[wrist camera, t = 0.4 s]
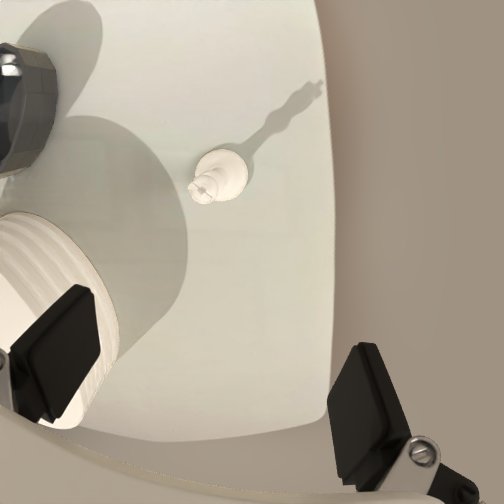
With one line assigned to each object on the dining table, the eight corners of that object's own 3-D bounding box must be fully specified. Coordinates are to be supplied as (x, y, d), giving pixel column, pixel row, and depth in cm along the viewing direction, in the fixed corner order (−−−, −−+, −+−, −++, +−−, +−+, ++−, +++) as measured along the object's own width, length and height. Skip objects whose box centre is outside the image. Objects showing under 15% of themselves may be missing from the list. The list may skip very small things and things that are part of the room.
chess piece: (226, 210, 29) (205, 247, 19) (185, 180, 28) (145, 202, 18) (258, 170, 27) (253, 188, 18) (216, 138, 26) (188, 139, 17)
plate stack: (48, 384, 42) (20, 425, 31) (-33, 255, 33) (-76, 283, 22) (158, 364, 37) (130, 430, 26) (48, 172, 28) (-23, 195, 17)
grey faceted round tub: (-5, 60, 21) (-35, 57, 16) (73, 42, 22) (41, 31, 16) (-19, 169, 27) (-48, 177, 22) (52, 177, 28) (18, 188, 22)
